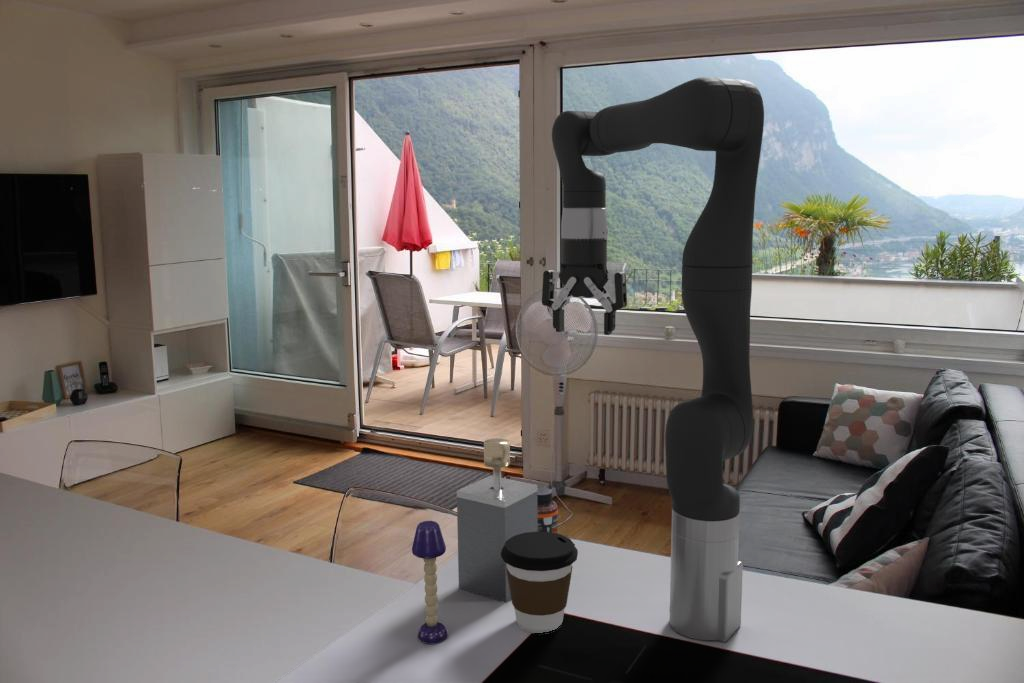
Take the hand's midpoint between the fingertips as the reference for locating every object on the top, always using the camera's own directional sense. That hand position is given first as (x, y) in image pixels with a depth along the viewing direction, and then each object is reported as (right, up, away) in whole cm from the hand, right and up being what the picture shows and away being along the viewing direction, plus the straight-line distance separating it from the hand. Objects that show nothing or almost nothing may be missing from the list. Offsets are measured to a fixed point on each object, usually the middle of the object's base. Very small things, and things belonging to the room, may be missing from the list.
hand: (583, 332), depth 144 cm
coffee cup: (-8, -42, -21) cm, 48 cm away
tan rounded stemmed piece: (-14, -34, -9) cm, 38 cm away
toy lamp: (-23, -43, -24) cm, 55 cm away
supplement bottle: (-7, -38, +4) cm, 39 cm away
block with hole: (-14, -40, -8) cm, 43 cm away
